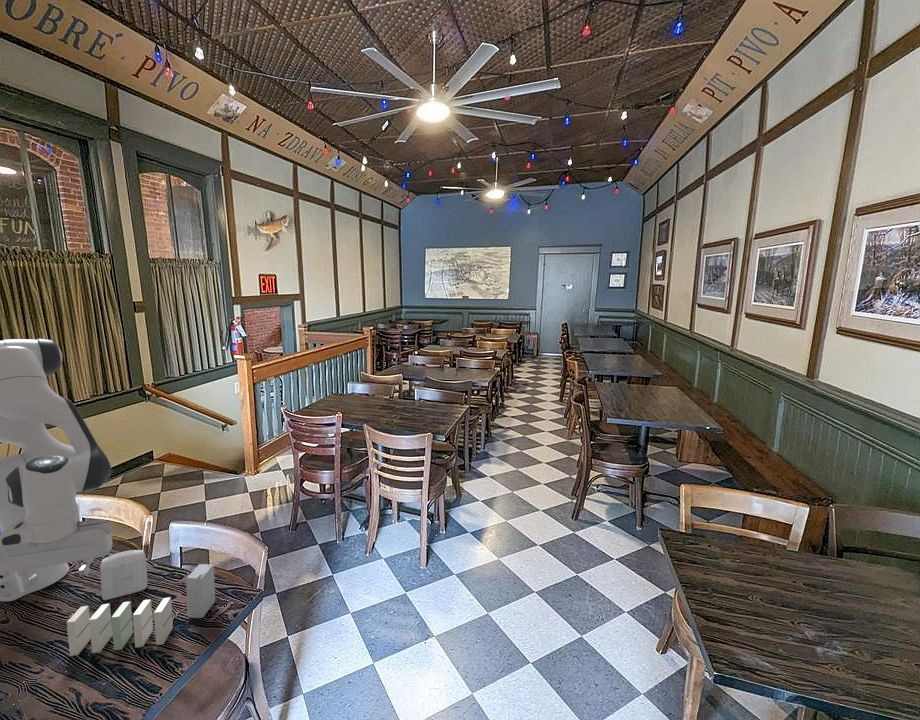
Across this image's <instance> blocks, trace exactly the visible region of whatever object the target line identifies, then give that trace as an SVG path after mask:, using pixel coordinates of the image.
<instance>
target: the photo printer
mask: <svg viewBox="0 0 920 720" xmlns="http://www.w3.org/2000/svg"><path fill="white" fill-rule="evenodd" d="M146 556H147V555H146V553H145V551H144V550H143V549H131V550H125V551H122V552H121V551H120V552H118V553H114V554H111V555H108V556H107V557H105V558H103V559H102V560H101V564H100V566H99V574H100V575H99V576H100V587H101V589H100V590H101V599H102V600H103V601H107V600H111V599H115V598H119V597H123V596H127V595H131V594H135V593H137V592H141V591H144V590H146V589H147V587H148V573H147V571H148V569H147V557H146Z"/></svg>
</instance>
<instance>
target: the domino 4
mask: <svg viewBox="0 0 920 720" xmlns="http://www.w3.org/2000/svg"><path fill="white" fill-rule="evenodd" d="M153 617H154V630H155V632H154V634H155V645H156V646H161V645H164V644H165V643H166V640H167V639H168V637H169V636H170V634H171V632H172V630H173V628H174V625H173V609H172V598H171V597H169V596H168V597H163V598H162V600H161V601H160V603H159V605H158V606H157V608H156V609H155V611H154V612H153ZM168 635H169V636H168Z"/></svg>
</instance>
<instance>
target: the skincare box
mask: <svg viewBox="0 0 920 720" xmlns="http://www.w3.org/2000/svg"><path fill="white" fill-rule="evenodd" d="M185 580H186V583H185V584H186V604H187V605H186V608H187V618H192V619H202V618H204V617H205V615H206V614H207V613H208V611H209V610H210V609H211V608H212V606H213V605H214V604H215V602H216V592H215V590H216V589H215V564H213V563H211V564H207V563H205V564H203V563H201V564H200V563H199V564H198V565H197V566H196V567H195V568H194V569H193V570H192V571H191V573H189V575H188V576H187V577H186V579H185Z"/></svg>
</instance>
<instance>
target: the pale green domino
mask: <svg viewBox="0 0 920 720" xmlns="http://www.w3.org/2000/svg"><path fill="white" fill-rule="evenodd" d="M111 623H112V634H113V636H112V641H113V651H119V650H123V648H124V647H125V645H126V644H127V642H128V641H129V640H130V638H131V637H132V635H133V634H134V624H133V614H132V602H131V601H130V600H129V601H123V602H122V603H121V604H120V605H119V607H118V608H117V609H116V610H115V612H114V613H113V614H112V615H111Z"/></svg>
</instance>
